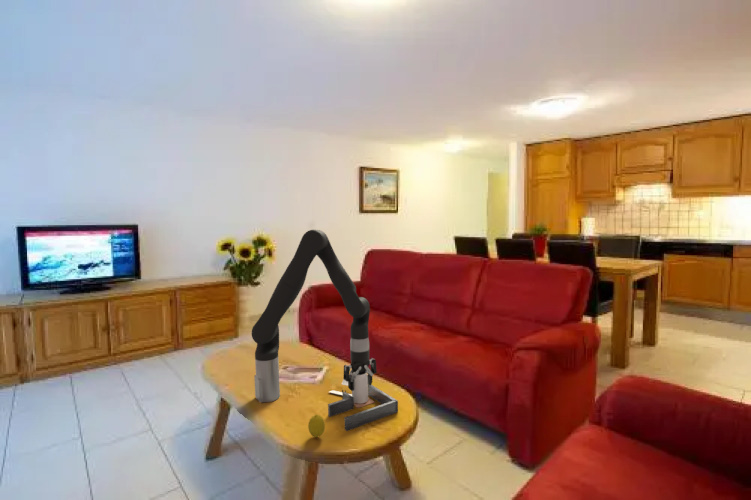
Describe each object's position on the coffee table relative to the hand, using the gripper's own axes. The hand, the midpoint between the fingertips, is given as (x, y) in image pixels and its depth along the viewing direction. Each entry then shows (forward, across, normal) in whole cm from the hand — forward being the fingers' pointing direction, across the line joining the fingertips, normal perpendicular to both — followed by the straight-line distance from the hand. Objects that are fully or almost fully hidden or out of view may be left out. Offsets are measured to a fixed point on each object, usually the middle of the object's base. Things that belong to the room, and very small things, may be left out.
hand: (360, 387), depth 162 cm
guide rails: (+6, -5, -7) cm, 10 cm away
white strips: (+7, +1, +12) cm, 14 cm away
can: (+6, 0, 0) cm, 6 cm away
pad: (+6, 0, 0) cm, 6 cm away
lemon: (+6, -26, -13) cm, 30 cm away
